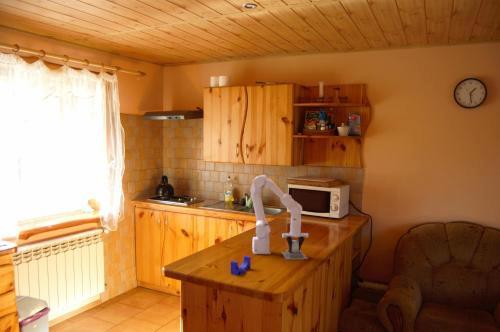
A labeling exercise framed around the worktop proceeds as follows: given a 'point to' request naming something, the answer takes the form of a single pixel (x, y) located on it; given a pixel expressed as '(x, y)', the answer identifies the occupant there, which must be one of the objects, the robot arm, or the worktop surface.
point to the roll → (295, 246)
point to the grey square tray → (294, 255)
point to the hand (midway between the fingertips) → (294, 250)
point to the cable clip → (242, 268)
